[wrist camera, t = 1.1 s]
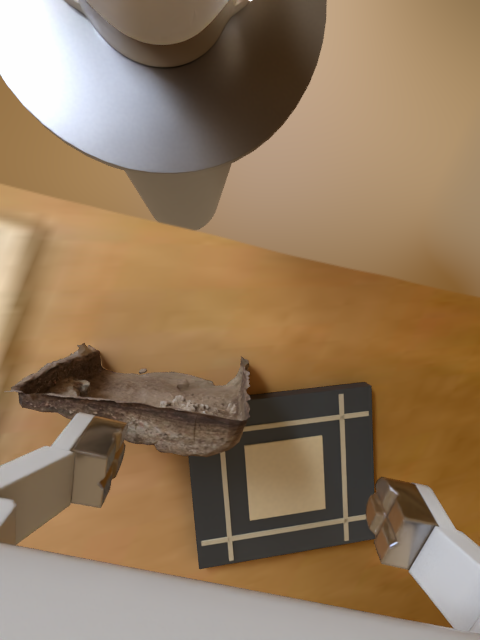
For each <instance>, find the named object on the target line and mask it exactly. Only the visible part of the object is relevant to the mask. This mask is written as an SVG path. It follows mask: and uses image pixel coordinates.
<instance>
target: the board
mask: <svg viewBox="0 0 480 640" xmlns="http://www.w3.org/2000/svg"><path fill="white" fill-rule="evenodd" d="M249 396H250V400H248V401H246V402H247V403H248V404H249V407H250V411H249V415H250V417H249V418H248V420H247V423H246V425H245V427H244V429H243V434H242V436H241V439H240V442H239V443H237V444H236V445H235V446H234V447H233V448H231V449H230V450H228V451H225V452H222V453H219V454H216V455H213V456H209V457H201V456H189V467H190V477H191V488H192V498H193V509H194V520H195V530H196V541H197V551H198V562H199V569H203V568H209V567H214V566H220V565H226V564H232V563H238V562H243V561H249V560H255V559H261V558H267V557H272V556H278V555H284V554H290V553H296V552H302V551H307V550H313V549H319V548H325V547H331V546H336V545H342V544H348V543H354V542H360V541H365V540H371V539H375V535H374V533H373V532H372V531H371V530H370V529H369V527H368V524H367V521H366V504H367V502H368V500H369V497H370V496H371V495H373V494H374V465H373V427H372V389H371V385H369V384H367V383H366V382H361V383H352V384H343V385H335V386H326V387H317V388H308V389H299V390H291V391H282V392H273V393H264V394H256V395H249Z"/></svg>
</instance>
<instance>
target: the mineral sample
mask: <svg viewBox="0 0 480 640" xmlns="http://www.w3.org/2000/svg"><path fill="white" fill-rule="evenodd" d="M77 346H78V347H79V349H78V351H76V352H75V353H74V354H70V356H69V357H66V358H63V359H60V360H58V361H54V362H52V363H47V364H46V365H45V366H44V367H42V368H41V369H40V370H39V371H38V372H37V373H35V374H31V375H29V376H27V377H26V378H24V379H22V381H20V382H19V383H17V384H16V385H15V386H13V387H11V390H10V391H5V392H12V391H16V392H18V394H19V403H20V405H21V406H22V407H23V408H28V409H32V410H36V411H40V412H56V413H59V414H61V415H62V416H64V417H66V418H68V419H73V417H74V416H75V415H76V414H77V413H79V412H82V413H86V414H91V415H95V416H100V417H105V418H109V419H113V420H117V421H122V422H126V423H128V431H127V435H126V437H125V440H126V441H128V442H131V443H135V444H146V445H155V447H156V449H157V450H158V451H160V452H165V453H174V454H179V455H183V456H201V457H209V456H213V455H216V454H219V453H222V452H225V451H228V450H230V449H231V448H233V447H234V446H235V445H236V444H237V443H239V442H240V439H241V436H242V434H243V429H244V427H245V425H246V423H247V420H248V418H249V417H250V415H249V411H250V407H249V404H248V403H247V402H246V401H248V400H250V396H249V395H248V394H247V392H246V389H247V388H248V387H250V385H249V381H248V379H249V377H248V375H250V372H248V367H249V361H248V360H246V359H243V357H242V356H241V364H240V369H239V371H238V374H237V375H236V377H235V378H234V379H232V380H231V381H230V382H229V383H228V384H227V385H224V386H215V385H213V382H211V381H207V380H204V379H201V378H198V377H195V376H191V375H188V374H181V373H175V372H169V373H168V372H160V373H148V374H144V375H138V374H133V373H132V374H124V373H116V372H113V371H110V370H106V369H104V368H103V367H102V366H101V358H100V353H99V351H98V350H96V349H95V348H93V347H91V346H90V345H89V346H88V347H87V346H86V345H85V343H83V344H82V345H77ZM146 371H147V369H141V370H140V371H139V373H140V374H141V373H145V372H146Z"/></svg>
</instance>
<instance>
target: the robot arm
mask: <svg viewBox="0 0 480 640" xmlns="http://www.w3.org/2000/svg"><path fill="white" fill-rule="evenodd" d="M64 1H65V2H67V3H68V4H69V5H71V6H72V7H74V8H75V9H77V10H79V11H80V12H82V13H83V14H84V15H85V16H86V17H87V18H88V19H89V20H90V22H91V23H92V24H93V26H94V27H95V28H96V30H97V31H98V32H99V34H100V35H101V36H102V37H103V39H104V40H105V41H106V42H107V43H108V44H109V45H111V46H112V47H113V48H114V49H115V50H116V51H118V52H119V53H121V54H122V55H124V56H126V57H127V58H129V59H131V60H133V61H136V62H138V63H141V64H144V65H148V66H153V67H175V66H180V65H184V64H187V63H189V62H192V61H194V60H196V59H197V58H199V57H201V56H202V55H203V54H205V53H206V52H207V51H208V50H209V49H210V48H211V47H212V46H213V45H214V44H215V43H216V41H217V40H218V38H219V37H220V35H221V33H222V32H223V30H224V28H225V26H226V24H227V22H228V21H229V19H230V18H231V17H232V16H233V15H235V14H236V13H237V12H239V11H240V10H241V9H243V8H244V7H245V6H246V5H247V4H248V3H249V2H250V1H251V0H64ZM127 431H128V423H126V422H122V421H117V420H113V419H109V418H105V417H100V416H95V415H91V414H86V413H82V412H79V413H77V414H76V415H75V416H74V417H73V419H72V420H71V421H70V422H69V424H68V425H67V426H66V428H65V429H64V430H63V431H62V433H61V434H60V435H59V436H58V438H57V439H56V440H55V442H54V443H53V444H52V445H51V447H48V446H44V447H42V448H39V449H37V450H35V451H33V452H30V453H28V454H26V455H23V456H21V457H19V458H17V459H14V460H12V461H10V462H7V463H5V464H3V465H1V466H0V640H480V547H479V546H478V545H477V544H476V543H474V542H473V541H472V540H471V539H470V538H469V537H467V536H466V535H465V534H464V533H463V532H461V531H457V530H456V528H455V527H454V525H453V524H452V522H451V520H450V519H449V517H448V515H447V514H446V512H445V510H444V509H443V507H442V505H441V504H440V502H439V501H438V499H437V497H436V496H435V494H434V492H433V491H432V489H431V488H430V487H428V486H427V485H422V484H417V483H409V482H404V481H400V480H395V479H390V478H385V477H381V478H380V479H378V481H377V483H376V485H375V488H376V491H377V492H376V493H375V494H373V495H371V496H370V497H369V500H368V502H367V504H366V521H367V524H368V527H369V529H370V530H371V531H372V532H373V533H374V535H375V536H376V538H375V540H374V544H375V547H376V550H377V553H378V556H379V558H380V561H381V564H385V565H389V566H394V567H398V568H403V569H407V570H409V573H410V574H411V575H412V576H413V578H414V579H415V580H416V581H417V583H418V584H419V585H420V586H421V588H422V589H423V590H424V591H425V593H426V594H427V595H428V596H429V598H430V599H431V600H432V602H433V603H434V604H435V605H436V607H437V608H438V609H439V610H440V612H441V613H442V614H443V615H444V617H445V618H446V619H447V620H448V622H449V623H450V624H451V625H452V627H453V628H454V629H453V628H448V627H442V626H437V625H432V624H426V623H421V622H416V621H411V620H405V619H400V618H395V617H390V616H384V615H379V614H374V613H369V612H364V611H358V610H353V609H348V608H343V607H337V606H332V605H327V604H322V603H317V602H311V601H306V600H301V599H295V598H290V597H285V596H280V595H274V594H269V593H264V592H259V591H253V590H248V589H243V588H238V587H232V586H227V585H222V584H217V583H211V582H206V581H201V580H196V579H190V578H185V577H180V576H175V575H169V574H164V573H159V572H154V571H148V570H143V569H138V568H133V567H127V566H122V565H117V564H111V563H106V562H101V561H96V560H90V559H85V558H80V557H75V556H69V555H64V554H59V553H54V552H48V551H43V550H38V549H33V548H27V547H22V546H17V545H16V544H18V543H19V542H20V541H22V540H23V539H24V538H26V537H27V536H29V535H30V534H31V533H33V532H34V531H35V530H37V529H38V528H39V527H41V526H42V525H44V524H45V523H46V522H48V521H49V520H50V519H52V518H53V517H54V516H56V515H57V514H58V513H60V512H61V511H63V510H64V509H65V508H67V507H68V506H69V505H70V503H74V504H80V505H86V506H92V507H98V508H101V507H102V505H103V503H104V501H105V498H106V496H107V494H108V492H109V490H110V486H111V480H112V479H113V478H115V477H116V475H117V473H118V471H119V468H120V466H121V463H122V460H123V456H124V451H125V444H124V442H123V441H124V439H125V437H126V435H127Z"/></svg>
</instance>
